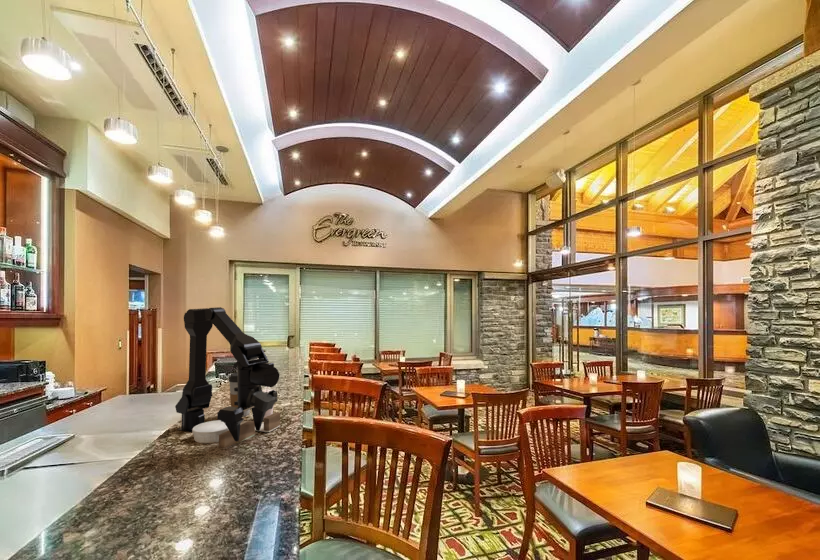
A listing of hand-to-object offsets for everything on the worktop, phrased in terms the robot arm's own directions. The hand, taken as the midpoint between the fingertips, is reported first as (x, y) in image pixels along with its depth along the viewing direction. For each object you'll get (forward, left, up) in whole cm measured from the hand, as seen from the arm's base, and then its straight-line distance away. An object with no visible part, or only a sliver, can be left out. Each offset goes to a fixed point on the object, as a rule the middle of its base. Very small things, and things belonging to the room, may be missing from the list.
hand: (247, 435), depth 123 cm
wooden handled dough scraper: (-11, 0, -2) cm, 11 cm away
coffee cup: (-22, +23, -3) cm, 32 cm away
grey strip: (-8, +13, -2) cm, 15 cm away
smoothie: (-10, +22, -3) cm, 24 cm away
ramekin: (-13, 0, -4) cm, 13 cm away
